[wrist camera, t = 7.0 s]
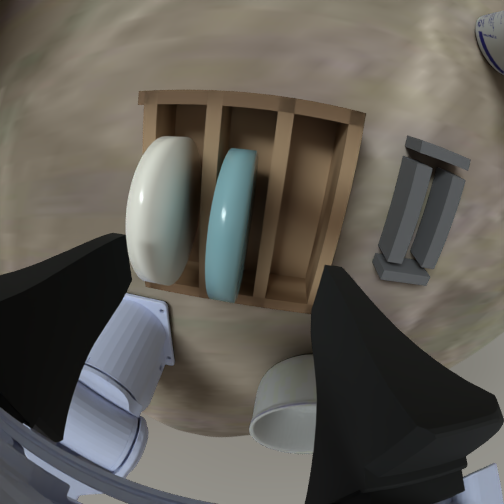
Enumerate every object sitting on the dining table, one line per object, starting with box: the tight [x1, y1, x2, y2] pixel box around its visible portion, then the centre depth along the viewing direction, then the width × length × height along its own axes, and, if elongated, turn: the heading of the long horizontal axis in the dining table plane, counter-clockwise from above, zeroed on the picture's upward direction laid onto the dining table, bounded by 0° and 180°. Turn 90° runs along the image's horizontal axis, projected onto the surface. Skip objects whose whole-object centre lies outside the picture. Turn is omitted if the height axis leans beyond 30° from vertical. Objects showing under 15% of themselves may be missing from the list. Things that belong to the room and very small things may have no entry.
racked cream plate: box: [126, 136, 201, 286], centre depth 15 cm, size 8×1×8 cm, turn 174°
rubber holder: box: [373, 136, 471, 286], centre depth 17 cm, size 10×4×2 cm, turn 174°
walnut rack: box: [138, 90, 366, 314], centre depth 17 cm, size 13×12×4 cm
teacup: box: [249, 354, 317, 454], centre depth 24 cm, size 14×11×8 cm
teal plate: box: [205, 148, 258, 303], centre depth 15 cm, size 8×1×8 cm, turn 174°
